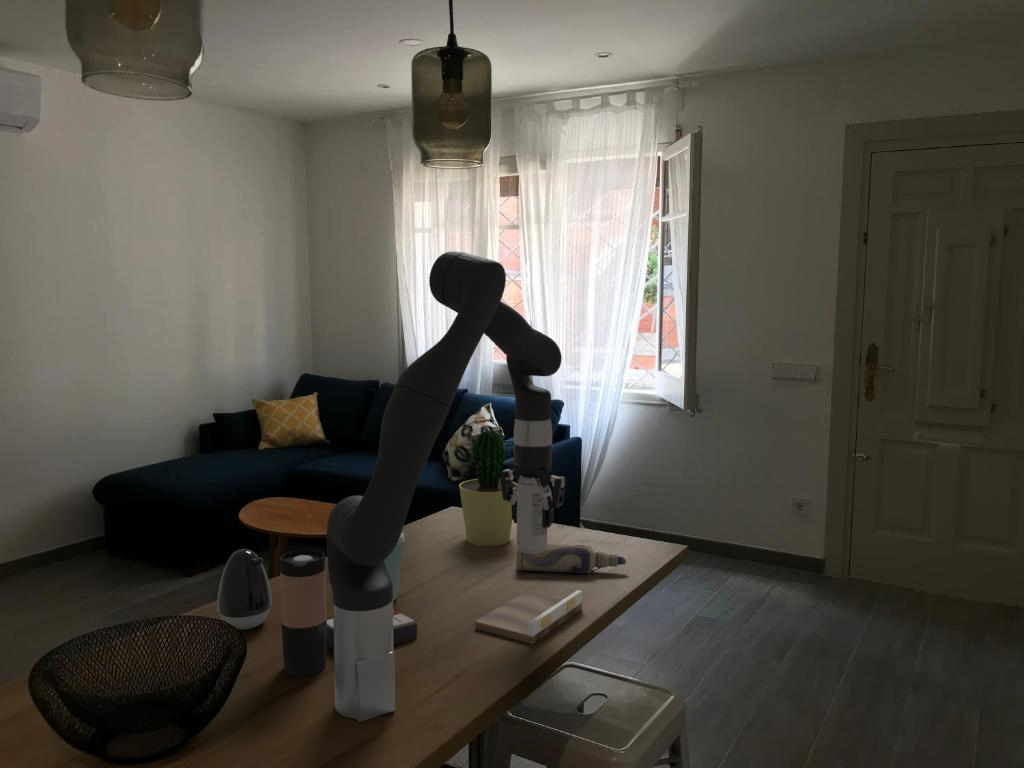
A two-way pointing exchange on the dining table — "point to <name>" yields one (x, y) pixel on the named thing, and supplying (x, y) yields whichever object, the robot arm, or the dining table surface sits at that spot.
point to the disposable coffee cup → (395, 564)
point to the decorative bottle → (566, 559)
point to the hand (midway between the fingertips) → (532, 524)
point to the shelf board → (522, 616)
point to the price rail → (554, 613)
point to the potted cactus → (486, 494)
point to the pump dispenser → (244, 591)
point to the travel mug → (303, 611)
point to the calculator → (401, 629)
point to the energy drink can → (530, 517)
